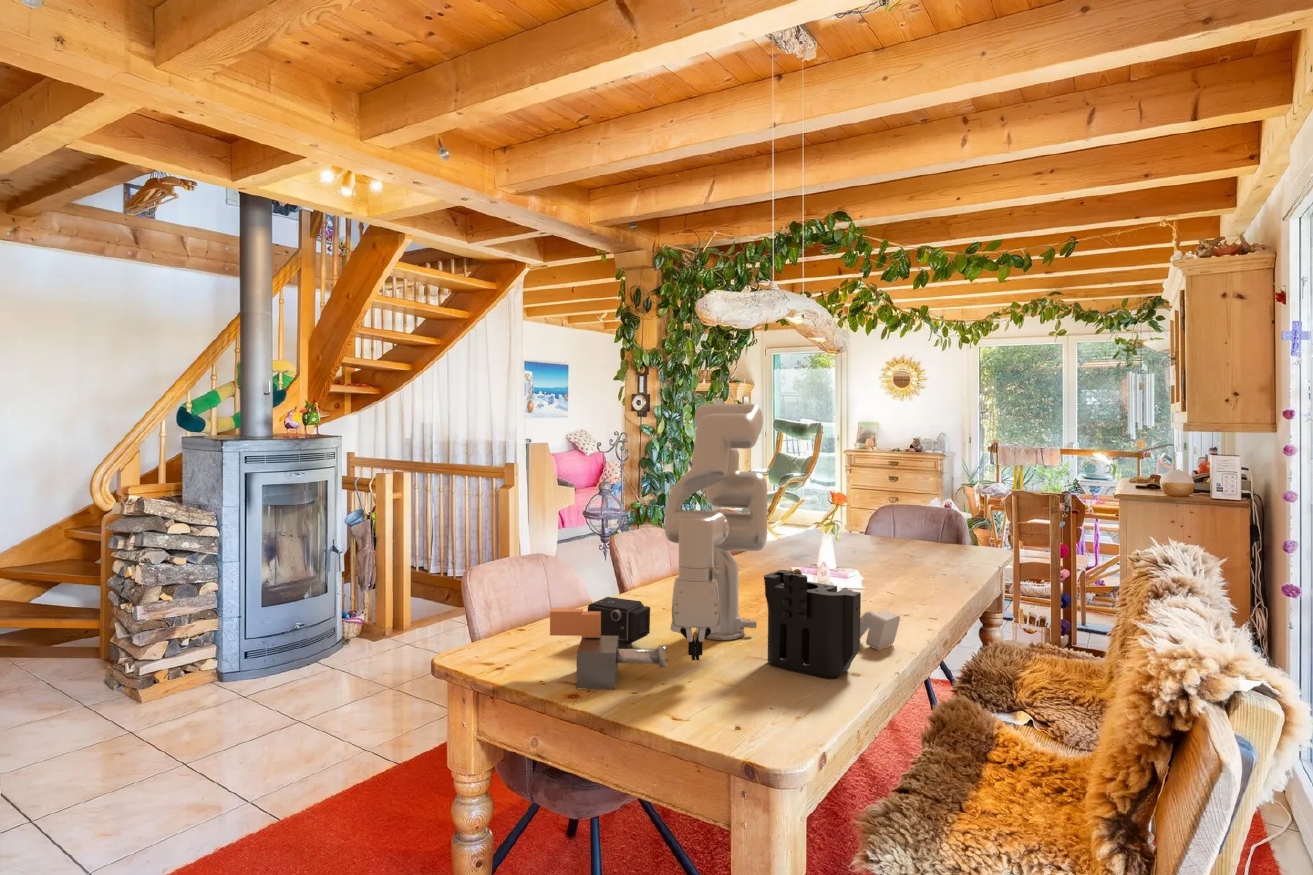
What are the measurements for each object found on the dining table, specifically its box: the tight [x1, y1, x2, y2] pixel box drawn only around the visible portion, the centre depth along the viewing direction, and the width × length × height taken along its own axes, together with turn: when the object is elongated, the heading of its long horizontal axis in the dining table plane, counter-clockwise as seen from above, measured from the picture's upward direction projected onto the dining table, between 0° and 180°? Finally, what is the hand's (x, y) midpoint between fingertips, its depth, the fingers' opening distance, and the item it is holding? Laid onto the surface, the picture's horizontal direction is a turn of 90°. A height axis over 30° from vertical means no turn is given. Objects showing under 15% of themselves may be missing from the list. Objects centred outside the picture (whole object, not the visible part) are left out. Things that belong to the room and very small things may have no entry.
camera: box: [587, 596, 651, 649], centre depth 182 cm, size 11×11×15 cm
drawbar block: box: [576, 636, 619, 690], centre depth 158 cm, size 8×12×8 cm, turn 0°
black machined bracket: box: [763, 569, 862, 680], centre depth 164 cm, size 12×21×22 cm, turn 54°
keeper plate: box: [549, 608, 601, 638], centre depth 163 cm, size 11×3×6 cm, turn 90°
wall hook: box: [860, 609, 901, 651], centre depth 184 cm, size 8×10×10 cm
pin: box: [616, 644, 667, 669], centre depth 158 cm, size 16×5×5 cm, turn 90°
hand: (695, 658), depth 158 cm, fingers closed
